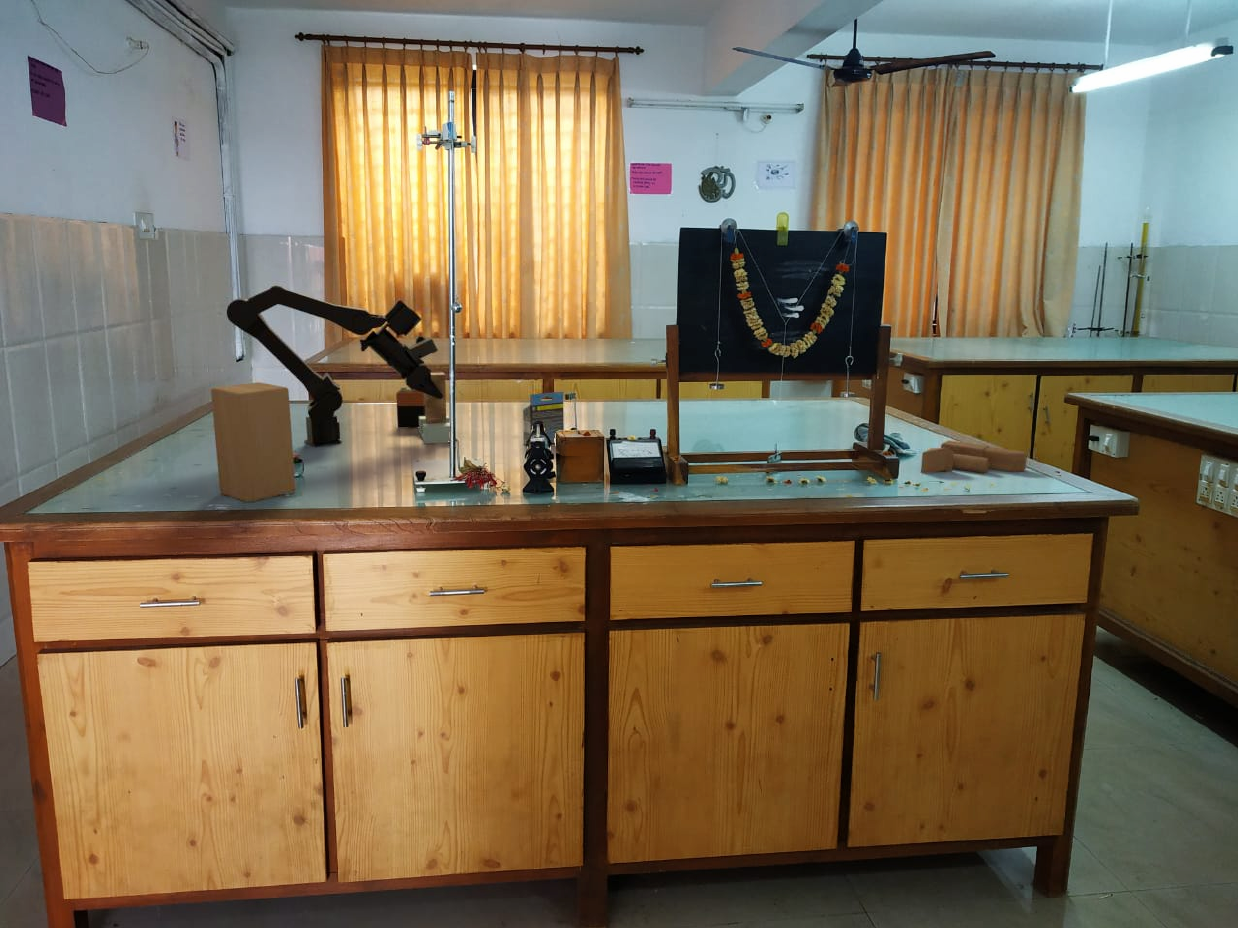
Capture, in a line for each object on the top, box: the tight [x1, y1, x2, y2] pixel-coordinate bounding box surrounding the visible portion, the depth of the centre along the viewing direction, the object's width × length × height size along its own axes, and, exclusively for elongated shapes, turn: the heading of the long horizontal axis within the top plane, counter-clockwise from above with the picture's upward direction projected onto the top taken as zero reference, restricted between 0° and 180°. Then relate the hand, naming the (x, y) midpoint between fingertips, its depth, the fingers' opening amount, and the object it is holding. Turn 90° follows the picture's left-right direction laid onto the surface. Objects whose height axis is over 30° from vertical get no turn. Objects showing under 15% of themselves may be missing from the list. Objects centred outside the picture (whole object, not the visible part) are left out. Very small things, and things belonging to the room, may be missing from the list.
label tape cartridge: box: [522, 391, 565, 445], centre depth 221 cm, size 9×4×12 cm, turn 123°
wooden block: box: [210, 381, 296, 503], centre depth 175 cm, size 10×10×20 cm
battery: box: [395, 387, 425, 428], centre depth 240 cm, size 4×7×10 cm, turn 94°
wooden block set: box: [920, 440, 1028, 474], centre depth 200 cm, size 17×6×18 cm
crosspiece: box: [418, 414, 451, 445], centre depth 228 cm, size 14×7×4 cm, turn 17°
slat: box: [425, 371, 447, 424], centre depth 226 cm, size 4×4×12 cm
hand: (440, 396), depth 226 cm, fingers closed on slat, 4 cm apart
